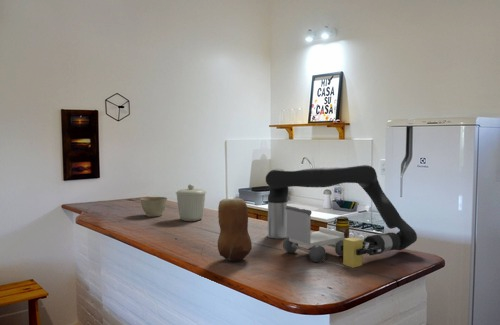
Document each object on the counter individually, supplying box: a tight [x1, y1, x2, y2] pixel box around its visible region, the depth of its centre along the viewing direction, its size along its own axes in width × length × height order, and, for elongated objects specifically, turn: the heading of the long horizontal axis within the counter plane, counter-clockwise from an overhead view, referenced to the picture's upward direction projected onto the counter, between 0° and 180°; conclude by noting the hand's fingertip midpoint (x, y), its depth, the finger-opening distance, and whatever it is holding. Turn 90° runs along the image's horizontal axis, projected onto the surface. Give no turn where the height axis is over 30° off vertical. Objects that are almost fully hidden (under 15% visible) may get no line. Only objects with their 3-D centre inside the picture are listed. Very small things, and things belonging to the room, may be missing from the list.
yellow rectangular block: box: [342, 236, 364, 268], centre depth 166 cm, size 5×5×10 cm
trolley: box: [282, 205, 344, 264], centre depth 180 cm, size 21×19×20 cm
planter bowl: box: [140, 196, 168, 218], centre depth 271 cm, size 16×16×11 cm
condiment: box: [334, 216, 350, 245], centre depth 199 cm, size 7×8×12 cm
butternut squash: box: [217, 198, 253, 263], centre depth 172 cm, size 14×13×25 cm
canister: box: [175, 183, 207, 222], centre depth 257 cm, size 18×18×21 cm
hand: (349, 250), depth 164 cm, fingers open, 7 cm apart
